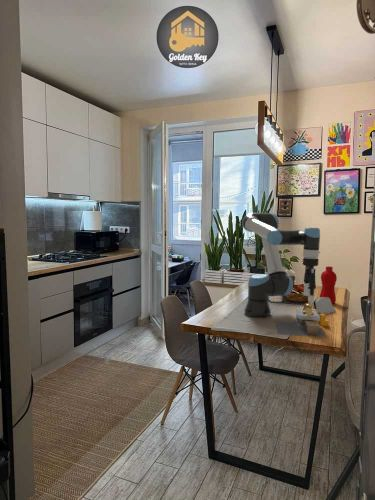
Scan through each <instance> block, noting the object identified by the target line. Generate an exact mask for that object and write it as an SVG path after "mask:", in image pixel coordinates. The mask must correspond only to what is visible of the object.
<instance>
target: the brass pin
mask: <svg viewBox="0 0 375 500" xmlns="http://www.w3.org/2000/svg"><path fill="white" fill-rule="evenodd" d="M304 305H305V310H306V315H312V309H313V304H312V303H305V304H304Z"/></svg>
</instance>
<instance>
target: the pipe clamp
mask: <svg viewBox="0 0 375 500" xmlns="http://www.w3.org/2000/svg"><path fill="white" fill-rule="evenodd" d="M312 311H316V312H317V310H316V309H313V308H312ZM318 315H319V316H320V321H318V320H317V323H318V325H319V326H321V327H326V326H328V327H329V324H330V323H329V322H330V321H329V320H328V319H327V318H326V317H327V315H326V314H320V313H318Z"/></svg>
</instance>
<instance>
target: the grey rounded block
mask: <svg viewBox="0 0 375 500" xmlns="http://www.w3.org/2000/svg"><path fill="white" fill-rule="evenodd" d="M311 304H313V307H312V309H316V310H317V313H318V314H325V315H326V314H331V313H334V312H336V308H335V307H334V306H333V304H332V303H331V300H330V298H327V297H321V298H320V297H318V298H314V302H311Z"/></svg>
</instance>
